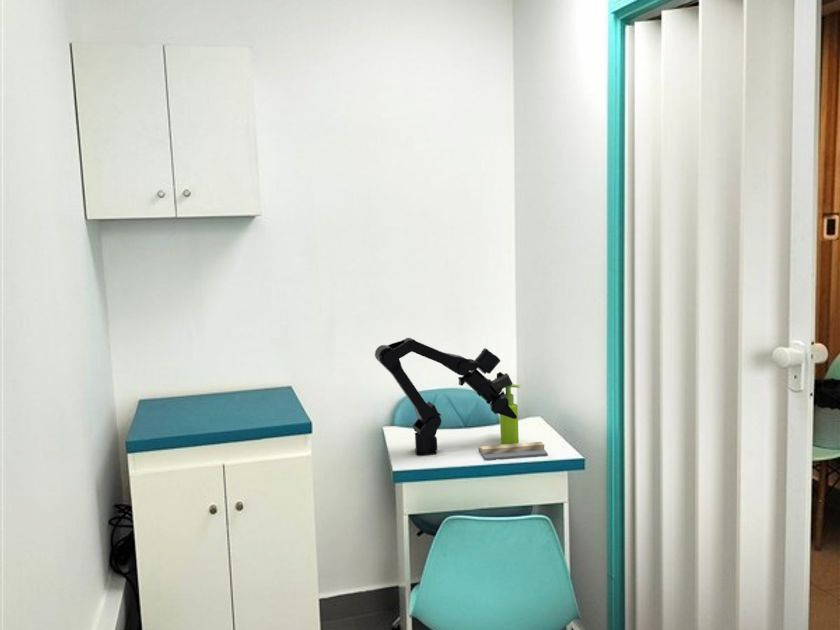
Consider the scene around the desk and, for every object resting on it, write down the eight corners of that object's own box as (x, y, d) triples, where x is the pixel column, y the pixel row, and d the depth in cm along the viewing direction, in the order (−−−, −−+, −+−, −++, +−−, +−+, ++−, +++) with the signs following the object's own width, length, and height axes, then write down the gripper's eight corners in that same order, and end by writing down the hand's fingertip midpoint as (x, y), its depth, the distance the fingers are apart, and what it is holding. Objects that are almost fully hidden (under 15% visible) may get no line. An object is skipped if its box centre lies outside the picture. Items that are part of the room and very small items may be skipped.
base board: (484, 460, 235) (484, 458, 235) (478, 450, 246) (478, 447, 246) (547, 455, 237) (547, 453, 237) (538, 445, 248) (538, 443, 248)
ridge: (482, 454, 239) (482, 449, 238) (480, 451, 242) (480, 446, 242) (544, 449, 241) (544, 444, 240) (541, 446, 244) (541, 441, 244)
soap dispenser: (521, 446, 248) (519, 386, 246) (500, 446, 249) (498, 386, 247) (522, 441, 254) (520, 382, 251) (501, 441, 255) (499, 382, 253)
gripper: (500, 372, 239) (536, 404, 240) (493, 361, 258) (526, 391, 259) (476, 397, 240) (512, 429, 241) (471, 385, 258) (504, 415, 260)
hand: (514, 415), depth 250 cm, fingers open, 6 cm apart
